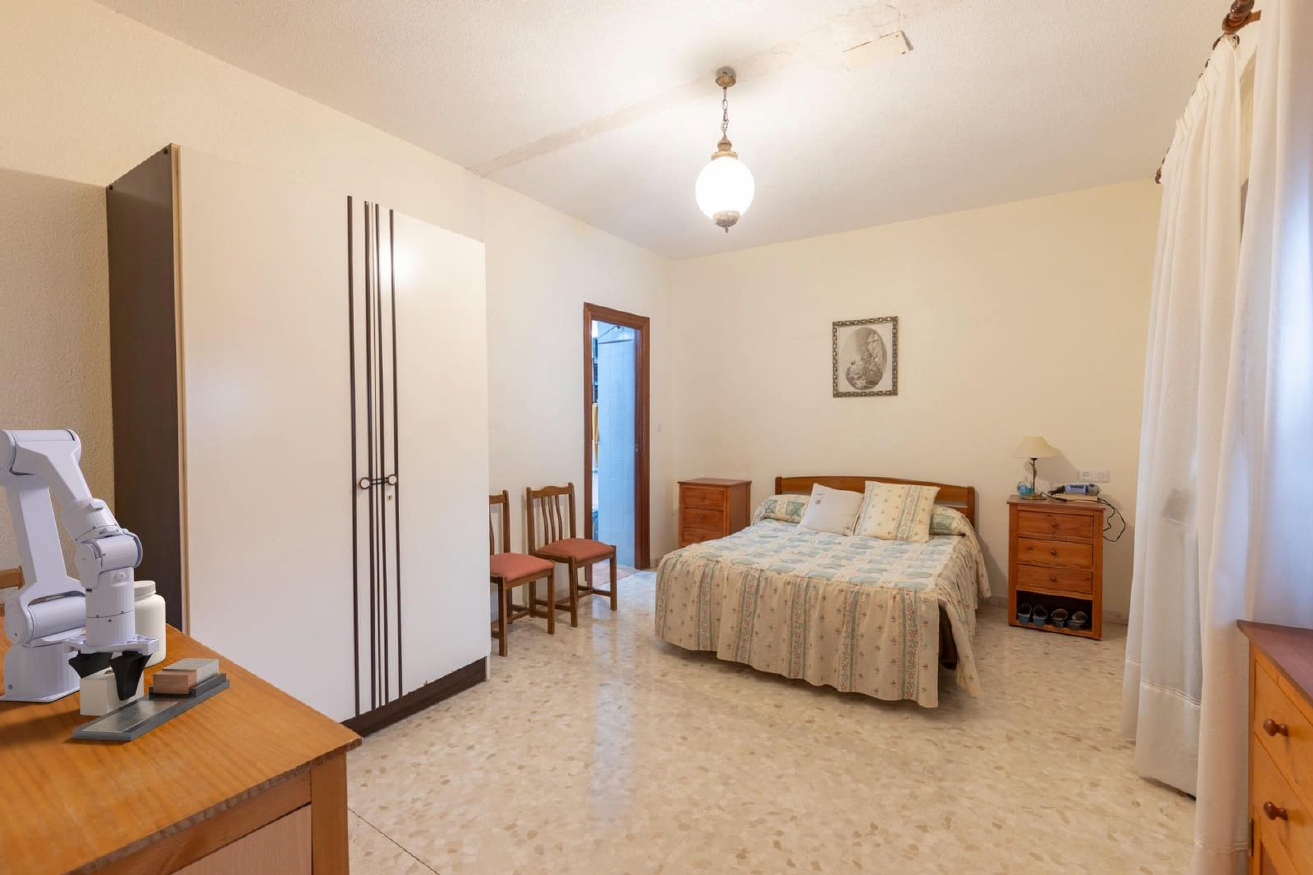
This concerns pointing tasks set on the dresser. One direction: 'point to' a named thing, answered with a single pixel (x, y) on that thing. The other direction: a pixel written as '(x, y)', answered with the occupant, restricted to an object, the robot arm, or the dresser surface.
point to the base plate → (148, 712)
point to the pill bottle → (149, 618)
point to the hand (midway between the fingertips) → (112, 697)
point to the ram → (185, 675)
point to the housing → (103, 693)
